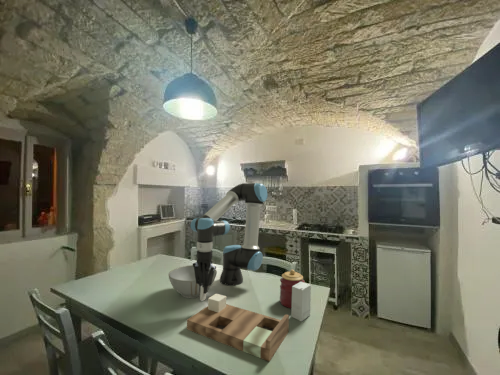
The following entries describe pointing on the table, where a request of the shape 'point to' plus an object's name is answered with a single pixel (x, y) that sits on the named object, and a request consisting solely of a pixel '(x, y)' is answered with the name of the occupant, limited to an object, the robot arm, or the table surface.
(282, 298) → the canister
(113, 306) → the table surface
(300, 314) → the skincare box
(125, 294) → the table surface
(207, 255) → the robot arm
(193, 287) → the decorative bowl
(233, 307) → the board
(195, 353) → the table surface
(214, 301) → the block
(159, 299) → the table surface
